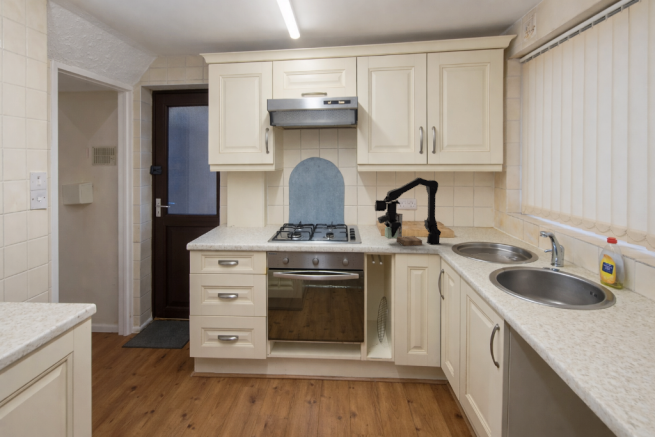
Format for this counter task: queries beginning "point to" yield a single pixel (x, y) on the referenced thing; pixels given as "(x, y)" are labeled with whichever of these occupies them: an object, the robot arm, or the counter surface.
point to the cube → (389, 233)
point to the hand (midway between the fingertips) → (390, 235)
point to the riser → (409, 241)
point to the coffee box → (399, 219)
